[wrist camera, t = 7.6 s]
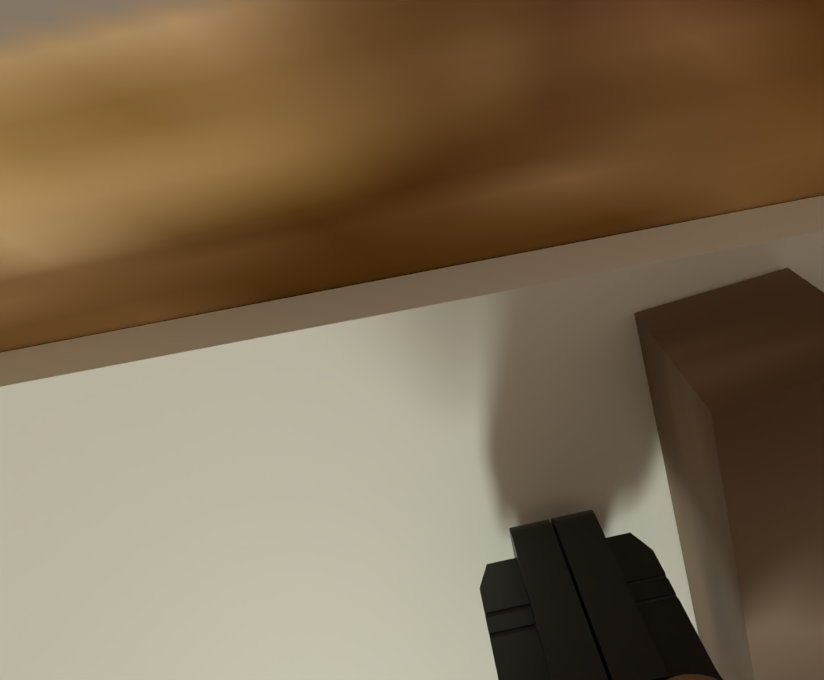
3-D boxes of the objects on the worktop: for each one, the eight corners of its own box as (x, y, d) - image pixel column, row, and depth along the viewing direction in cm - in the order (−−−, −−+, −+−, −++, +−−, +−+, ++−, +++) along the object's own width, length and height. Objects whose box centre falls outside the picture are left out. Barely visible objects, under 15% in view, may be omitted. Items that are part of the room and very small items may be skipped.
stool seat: (100, 885, 20) (80, 951, 19) (-202, 391, 14) (-265, 436, 12) (911, 751, 19) (952, 810, 18) (996, 162, 13) (1071, 184, 12)
